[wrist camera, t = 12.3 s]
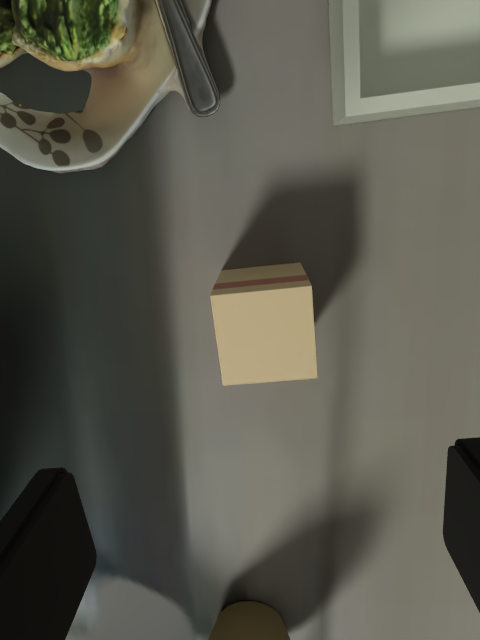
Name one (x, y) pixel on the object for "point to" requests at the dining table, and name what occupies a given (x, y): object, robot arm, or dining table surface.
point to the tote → (403, 58)
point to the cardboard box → (264, 324)
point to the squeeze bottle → (249, 623)
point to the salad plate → (103, 73)
